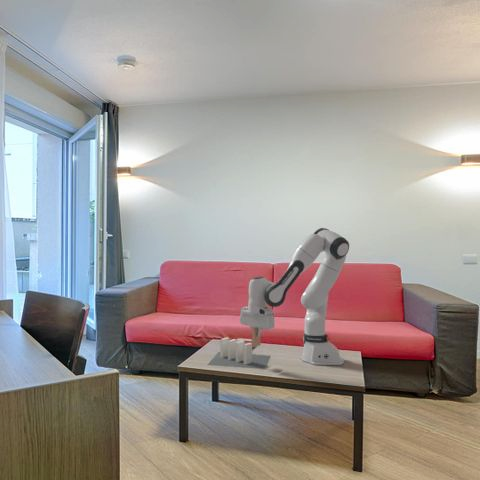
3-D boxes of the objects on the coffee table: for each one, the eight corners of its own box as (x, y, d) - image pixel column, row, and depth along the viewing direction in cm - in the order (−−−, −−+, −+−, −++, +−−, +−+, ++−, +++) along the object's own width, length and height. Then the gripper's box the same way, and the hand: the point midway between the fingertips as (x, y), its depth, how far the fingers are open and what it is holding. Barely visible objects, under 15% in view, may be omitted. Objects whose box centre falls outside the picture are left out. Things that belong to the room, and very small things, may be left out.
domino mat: (270, 356, 212) (270, 355, 212) (265, 370, 189) (265, 369, 189) (218, 353, 217) (218, 352, 217) (207, 365, 195) (207, 364, 195)
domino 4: (243, 363, 197) (243, 344, 197) (249, 361, 201) (249, 342, 201) (245, 364, 196) (246, 345, 196) (252, 362, 199) (252, 343, 200)
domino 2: (227, 359, 204) (228, 340, 204) (234, 357, 208) (234, 339, 208) (230, 360, 203) (230, 341, 203) (236, 358, 207) (236, 339, 207)
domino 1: (220, 357, 207) (220, 339, 208) (226, 355, 211) (226, 337, 211) (222, 357, 206) (222, 339, 207) (228, 355, 210) (228, 337, 210)
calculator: (230, 344, 224) (237, 337, 238) (230, 351, 224) (237, 344, 238) (248, 346, 221) (254, 338, 235) (248, 353, 221) (254, 345, 235)
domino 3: (235, 361, 200) (235, 342, 200) (241, 359, 204) (241, 340, 204) (237, 362, 199) (238, 343, 199) (243, 360, 203) (244, 341, 203)
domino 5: (251, 346, 193) (252, 326, 193) (257, 344, 197) (258, 325, 197) (254, 347, 192) (254, 327, 192) (260, 345, 196) (260, 325, 196)
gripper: (237, 306, 199) (236, 333, 199) (269, 312, 186) (268, 340, 186) (245, 305, 204) (244, 331, 204) (276, 310, 191) (275, 338, 190)
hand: (256, 335), depth 195 cm, fingers closed on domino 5, 2 cm apart
